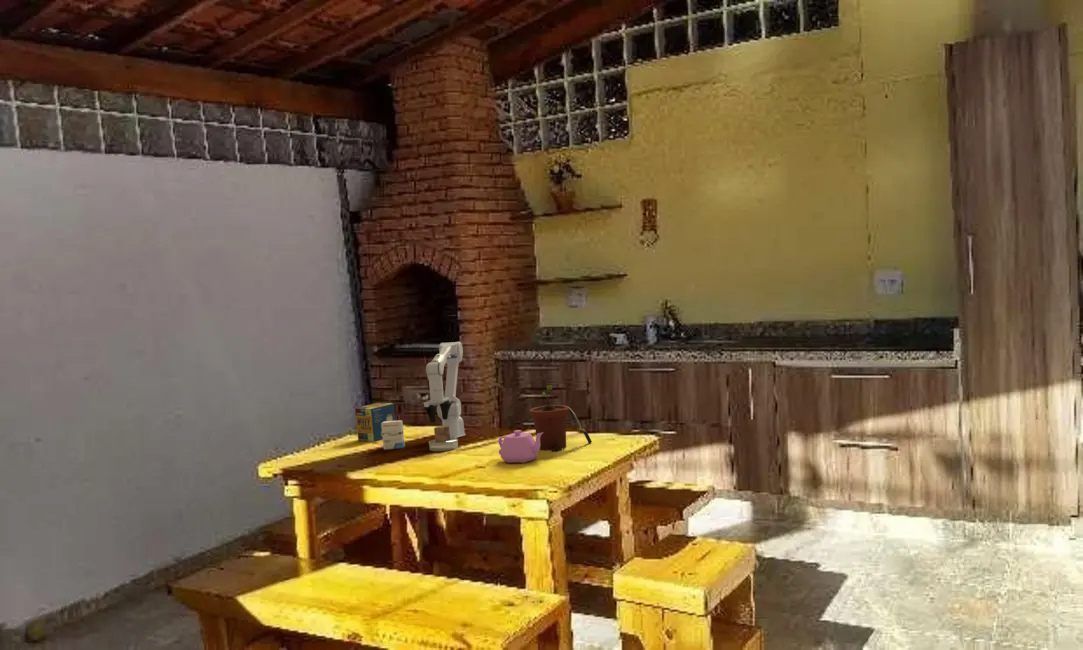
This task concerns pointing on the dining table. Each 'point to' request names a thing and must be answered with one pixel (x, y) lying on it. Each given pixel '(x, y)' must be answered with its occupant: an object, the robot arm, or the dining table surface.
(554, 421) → the potted plant
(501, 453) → the teapot
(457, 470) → the dining table surface
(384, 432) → the ink box
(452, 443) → the biscuit tin
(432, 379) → the robot arm
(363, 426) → the protein box
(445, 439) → the walnut block
